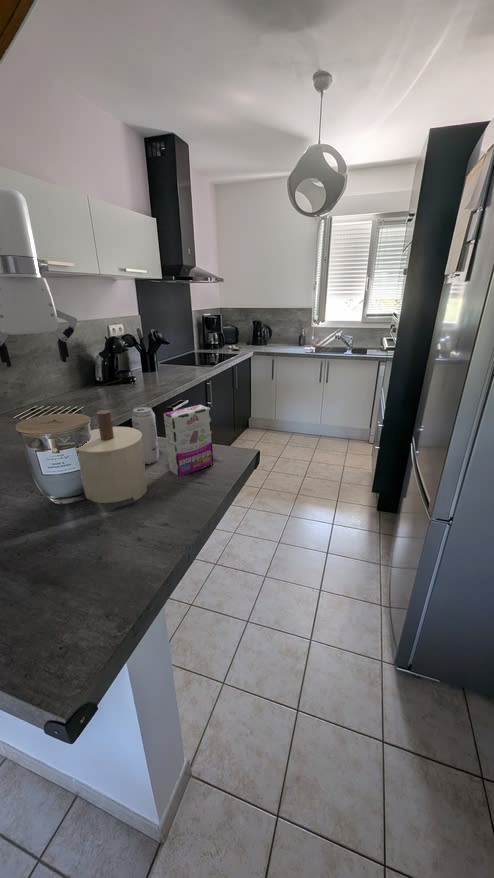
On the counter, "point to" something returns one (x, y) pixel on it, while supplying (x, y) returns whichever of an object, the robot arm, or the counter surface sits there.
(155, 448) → the energy drink can
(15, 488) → the counter surface
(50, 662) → the counter surface
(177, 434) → the candy bar box
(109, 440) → the lid
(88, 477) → the canister
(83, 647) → the counter surface
